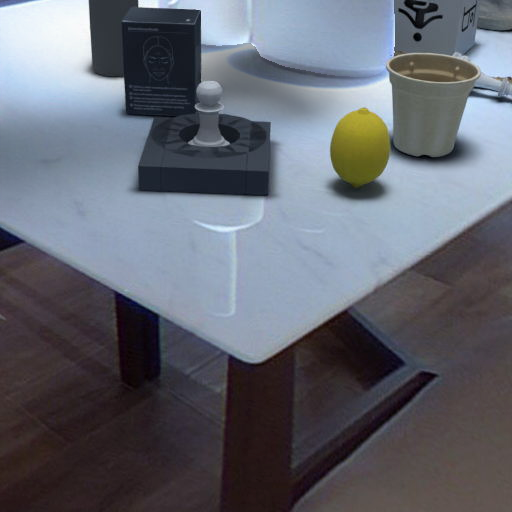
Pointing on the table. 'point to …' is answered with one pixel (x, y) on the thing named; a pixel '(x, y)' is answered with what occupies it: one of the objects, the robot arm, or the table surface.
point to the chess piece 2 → (490, 81)
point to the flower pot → (429, 100)
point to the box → (161, 60)
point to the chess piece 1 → (209, 115)
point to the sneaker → (495, 15)
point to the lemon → (360, 147)
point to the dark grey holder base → (206, 157)
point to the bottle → (108, 34)
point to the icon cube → (435, 25)
